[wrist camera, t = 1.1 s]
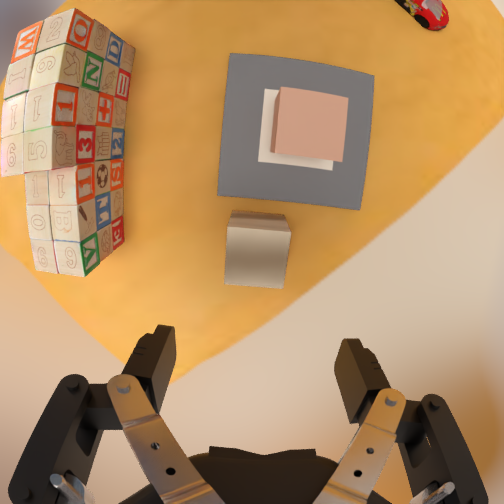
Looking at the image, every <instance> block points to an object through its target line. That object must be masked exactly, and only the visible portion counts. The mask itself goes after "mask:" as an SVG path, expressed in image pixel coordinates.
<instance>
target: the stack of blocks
mask: <svg viewBox="0 0 504 504" xmlns="http://www.w3.org/2000/svg"><path fill="white" fill-rule="evenodd" d="M134 54H135V48H133V47H132V46H130V45H129V44H128V43H127V42H125V41H123V40H122V39H121V38H119V37H118V36H116V35H115V34H114V33H113V32H111V31H110V30H109V29H108V28H107V27H106V26H104V25H103V24H101V23H100V22H98V21H97V20H95V19H93V20H92V19H91V18H90V17H88V16H87V15H85V14H84V13H82V12H81V11H79V10H78V9H76V8H72V9H70V10H67V11H64V12H62V13H59V14H56V15H54V16H51V17H48V18H46V19H45V21H44V20H43V21H39V22H37V23H35V24H33V25H31V26H29V27H27V28H25V29H23V30H21V31H20V32H19V33H18V36H17V39H16V43H15V47H14V51H13V55H12V59H11V65H9V67H8V72H7V77H6V83H5V90H4V100H5V101H4V103H3V109H2V122H1V138H2V140H1V177H6V176H13V175H20V174H25V191H26V203H27V205H26V210H27V220H28V229H29V236H30V239H31V246H32V252H33V259H34V263H35V268H36V270H39V271H45V272H51V273H57V274H58V273H61V274H67V275H74V276H81V277H85V276H87V275H88V274H89V273H90V272H91V271H92V270H93V269H95V268H96V267H97V266H98V265H99V264H100V262H101V261H102V260H104V259H105V258H106V257H107V256H108V255H110V254H111V253H112V252H113V250H115V249H116V248H117V247H119V246H120V245H121V244H122V243H123V242H124V231H123V216H122V215H123V169H124V159H123V150H124V133H125V131H124V128H125V117H126V105H127V100H128V93H129V85H130V77H131V72H132V66H133V59H134Z"/></svg>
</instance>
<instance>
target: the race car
mask: <svg viewBox="0 0 504 504" xmlns="http://www.w3.org/2000/svg"><path fill="white" fill-rule="evenodd" d="M395 1H397V2H398V3H399V4H400V5H401V6H402V7H403V8H404V9H406V10H407V11H408V12H409V13H410V14H411V15H412V16H413V15H415V14H416V15H415V20H416V21H418V22H419V23H420V24H421V26H422V27H428V26H429V25H430V26H429V27H428V28H427V29H430V30H441V29H443V28H445V27H446V26H447V24H448V21H449V17H448V11H447V9H446V7H445V5H444V4H443V3H442V2H441V0H395Z"/></svg>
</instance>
